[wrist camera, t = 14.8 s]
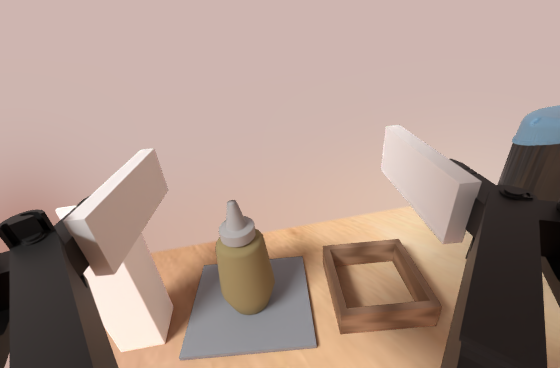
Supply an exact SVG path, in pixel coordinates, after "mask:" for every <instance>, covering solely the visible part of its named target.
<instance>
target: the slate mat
mask: <svg viewBox="0 0 560 368" xmlns="http://www.w3.org/2000/svg"><path fill="white" fill-rule="evenodd" d="M270 263H271V266H272V270H273V273H274V279H275V284H274V287H273V290H272V293H271V296H270V299H269V302H268V305H267V306H266V307H265V308H264V309H263V310H262V311H260V312H259V313H257V314H253V315H244V314H240V313H239V312H238V311H236V310H235V309H234V308H233V307H232V306H231V305H230V304H229V303H228V302H227V301H226V300H225V299H224V297H223V294H222V292H221V286H220V279H219V271H218V264H213V265H204V268H203V271H202V275H201V279H200V282H199V286H198V290H197V293H196V297H195V301H194V304H193V308H192V312H191V315H190V319H189V323H188V327H187V330H186V334H185V338H184V341H183V345H182V349H181V352H180V356H179V359H180V360H190V359H201V358H211V357H222V356H233V355H244V354H255V353H266V352H277V351H288V350H299V349H310V348H317V345H316V338H315V332H314V326H313V320H312V313H311V307H310V301H309V295H308V288H307V282H306V276H305V270H304V263H303V257H302V256H300V257H289V258H278V259H270Z"/></svg>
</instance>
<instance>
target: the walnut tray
mask: <svg viewBox="0 0 560 368" xmlns="http://www.w3.org/2000/svg"><path fill="white" fill-rule="evenodd" d="M386 261H393V263H394V265H395V267H396V268H397V270H398V272H399V274H400V276H401V277H402V279H403V281H404V283H405V285H406V286H407V288H408V290H409V292H410V294H411V295H412V297H413V299H414V301H415V302H408V303H397V304H387V305H376V306H365V307H354V308H347V306H346V303H345V299H344V296H343V293H342V289H341V286H340V282H339V279H338V275H337V272H336V269H335V266H343V265H354V264H364V263H375V262H386ZM323 265H324V269H325V273H326V277H327V281H328V285H329V289H330V294H331V298H332V302H333V306H334V310H335V314H336V318H337V322H338V326H339V330H340V334H348V333H359V332H370V331H381V330H392V329H403V328H414V327H425V326H435V325H436V323H437V320H438V317H439V314H440V311H441V308H442V306H441V304H440V302H439V301H438V299H437V298H436V296H435V295H434V293H433V292H432V290H431V288H430V287H429V285H428V284H427V282H426V281H425V279H424V278H423V276H422V274H421V273H420V271H419V270H418V268H417V267H416V265H415V264H414V262H413V261H412V259H411V257H410V256H409V254H408V253H407V251H406V250H405V248H404V247H403V245H402V243H401V242H400V240H399V239H394V240H383V241H372V242H361V243H351V244H340V245H329V246H323Z"/></svg>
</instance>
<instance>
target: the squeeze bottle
mask: <svg viewBox="0 0 560 368" xmlns="http://www.w3.org/2000/svg"><path fill="white" fill-rule="evenodd" d="M219 234H220V237H219V239H218V240H217V242H216V256H217V264H218V271H219V279H220V286H221V292H222V294H223V297H224V299H225V300H226V301H227V302H228V303H229V304H230V305H231V306H232V307H233V308H234V309H235V310H236V311H238V312H239V313H240V314H244V315H253V314H257V313H259V312H260V311H262V310H263V309H264V308H265V307H266V306H267V305H268V302H269V299H270V296H271V293H272V290H273V287H274V284H275V279H274V273H273V270H272V266H271V263H270V259H269V256H268V252H267V249H266V245H265V241H264V238H263V235H262V234H261V232H260V231H259V230H257V229H255V226H254V222H253V220H252V219H250V218H248V217H246V216H243V215H242V212H241V211H240V208H239V206H238V204H237V202H236V201H235V200H231V201H228V202H227V218H226V220H225V221H224V222H223V223H222V224H221V226H220V227H219Z"/></svg>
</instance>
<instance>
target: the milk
mask: <svg viewBox="0 0 560 368" xmlns="http://www.w3.org/2000/svg"><path fill="white" fill-rule="evenodd" d="M76 206H77V205H76ZM76 206H69V207H62V208H57V209H56V213H57V215H58V216H59V218H60V220H61V219H62V218H63V217H65V216H66V215H67V214H68V213H70V211H71V210H72V209H73V208H75V207H76ZM83 274H84V275H85V277H86V278H87V280H88V283H89V286H90V289H91V292H92V294H93V297H94V300H95V303H96V306H97V309H98V311H99V314H100V317H101V320H102V323H103V325H104V327H105V328H106V330H107V331H108V333H109V334H110V336H111V337H112V339H113V340H114V342H115V343H116V345H117V346H118V348H119V349H120V351H121V352H125V351H130V350H135V349H141V348H146V347H151V346H156V345H161V344H165V343H166V338H167V334H168V329H169V325H170V320H171V316H172V312H173V304H172V302H171V300H170V298H169V295H168V293H167V291H166V288H165V286H164V284H163V281H162V279H161V277H160V274H159V272H158V270H157V267H156V265H155V263H154V261H153V258H152V256H151V254H150V251H149V249H148V247H147V244H146V242H145V240H144V237H143V235H142V233H141V234H140V236H139V237H138V239H137V240H136V242H135V243H134V245H133V247H132V248H131V250H130V251H129V253H128V254H127V256H126V258H125V259H124V261H123V262H122V264H121V266H120V267H119V269H118V270H117V272H116V273H115V275H104V276H95V274H94V273H93V271H92V269H91V268H90V266H88V268H87V269H86V270H85V272H84V273H83Z"/></svg>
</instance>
